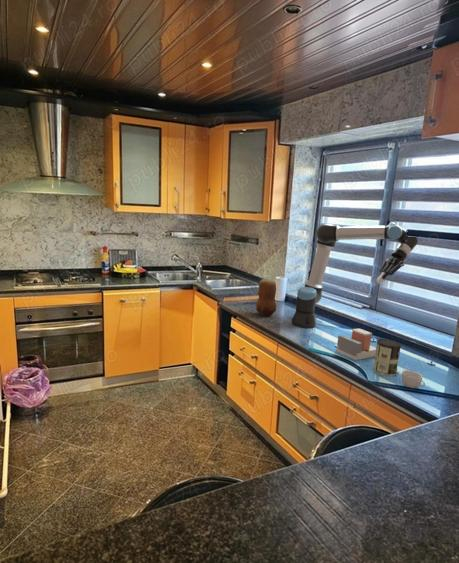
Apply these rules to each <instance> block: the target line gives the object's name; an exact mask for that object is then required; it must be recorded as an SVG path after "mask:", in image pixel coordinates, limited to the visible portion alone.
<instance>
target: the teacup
mask: <svg viewBox="0 0 459 563" xmlns="http://www.w3.org/2000/svg"><path fill="white" fill-rule="evenodd" d="M422 379H423V375H422V374H421V373H419V372H417V371H413V370H408V369H406V370H402V372H401V382H402V384H403V385H404V386H405V387H406V386H407V387H406V388H409V387H410V388H409V389H417V388H423V387H425V386H426V383H425V381H424V380H422ZM422 384H423V385H422Z"/></svg>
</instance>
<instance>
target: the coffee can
mask: <svg viewBox="0 0 459 563" xmlns="http://www.w3.org/2000/svg"><path fill="white" fill-rule="evenodd" d="M401 347H402V344H401V343H400V342H398V341H396V340H392V339H389V338H388V339H387V338H378V339H377V340H376V347H375V348H376V353H375V356H374V362H373V366H372V368H373V369H372V370H373V372H375V373H377V374H378V375H382V376H386V377H393V376H394V377H395V376H396V375H397V371H398V367H399V365H398V364H399V358H400V353H401V352H400V351H401Z"/></svg>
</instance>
